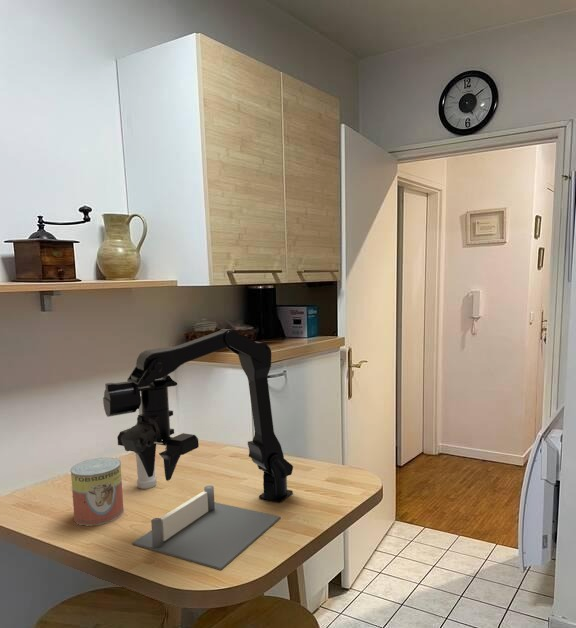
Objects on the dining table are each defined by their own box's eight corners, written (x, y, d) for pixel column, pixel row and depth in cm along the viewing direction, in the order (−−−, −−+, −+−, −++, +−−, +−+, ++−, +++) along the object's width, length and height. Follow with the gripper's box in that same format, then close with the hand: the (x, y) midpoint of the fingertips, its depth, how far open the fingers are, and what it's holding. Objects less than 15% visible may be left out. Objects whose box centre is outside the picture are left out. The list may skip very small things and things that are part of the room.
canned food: (78, 530, 115) (75, 478, 114) (70, 512, 124) (66, 464, 123) (129, 516, 121) (126, 467, 120) (117, 500, 130) (114, 454, 129)
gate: (209, 505, 123) (208, 484, 123) (216, 507, 122) (215, 486, 121) (158, 539, 107) (156, 516, 107) (166, 542, 106) (164, 518, 106)
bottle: (136, 483, 141) (130, 394, 139) (155, 480, 143) (150, 392, 141) (138, 490, 136) (132, 398, 134) (158, 486, 138) (152, 395, 136)
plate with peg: (200, 500, 128) (199, 477, 127) (280, 518, 117) (279, 493, 116) (132, 544, 108) (130, 517, 107) (221, 570, 97) (219, 540, 96)
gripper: (95, 413, 108) (100, 485, 109) (162, 422, 99) (166, 500, 100) (134, 401, 118) (138, 467, 119) (198, 408, 109) (202, 479, 110)
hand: (159, 478), depth 112 cm, fingers open, 5 cm apart
